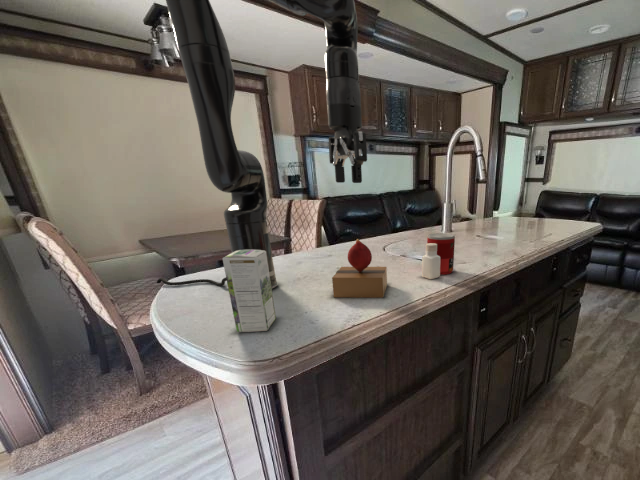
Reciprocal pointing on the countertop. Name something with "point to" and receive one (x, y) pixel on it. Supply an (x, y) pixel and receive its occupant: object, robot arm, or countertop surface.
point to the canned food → (444, 250)
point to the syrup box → (250, 290)
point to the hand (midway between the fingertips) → (348, 182)
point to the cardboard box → (360, 282)
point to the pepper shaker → (431, 262)
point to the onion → (359, 256)
